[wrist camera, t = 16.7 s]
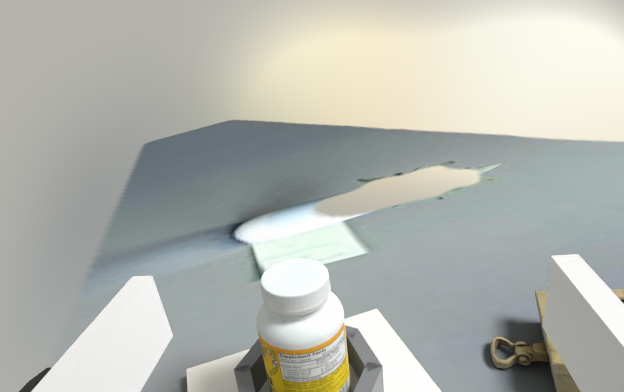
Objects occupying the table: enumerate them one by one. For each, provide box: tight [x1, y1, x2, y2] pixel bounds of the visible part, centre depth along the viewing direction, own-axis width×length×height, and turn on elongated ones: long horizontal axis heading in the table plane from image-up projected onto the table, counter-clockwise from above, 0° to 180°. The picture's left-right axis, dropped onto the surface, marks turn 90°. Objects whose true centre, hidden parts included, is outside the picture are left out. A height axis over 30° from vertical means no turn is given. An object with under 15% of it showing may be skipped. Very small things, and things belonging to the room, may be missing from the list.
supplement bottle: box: [257, 258, 351, 392], centre depth 25 cm, size 5×5×10 cm
